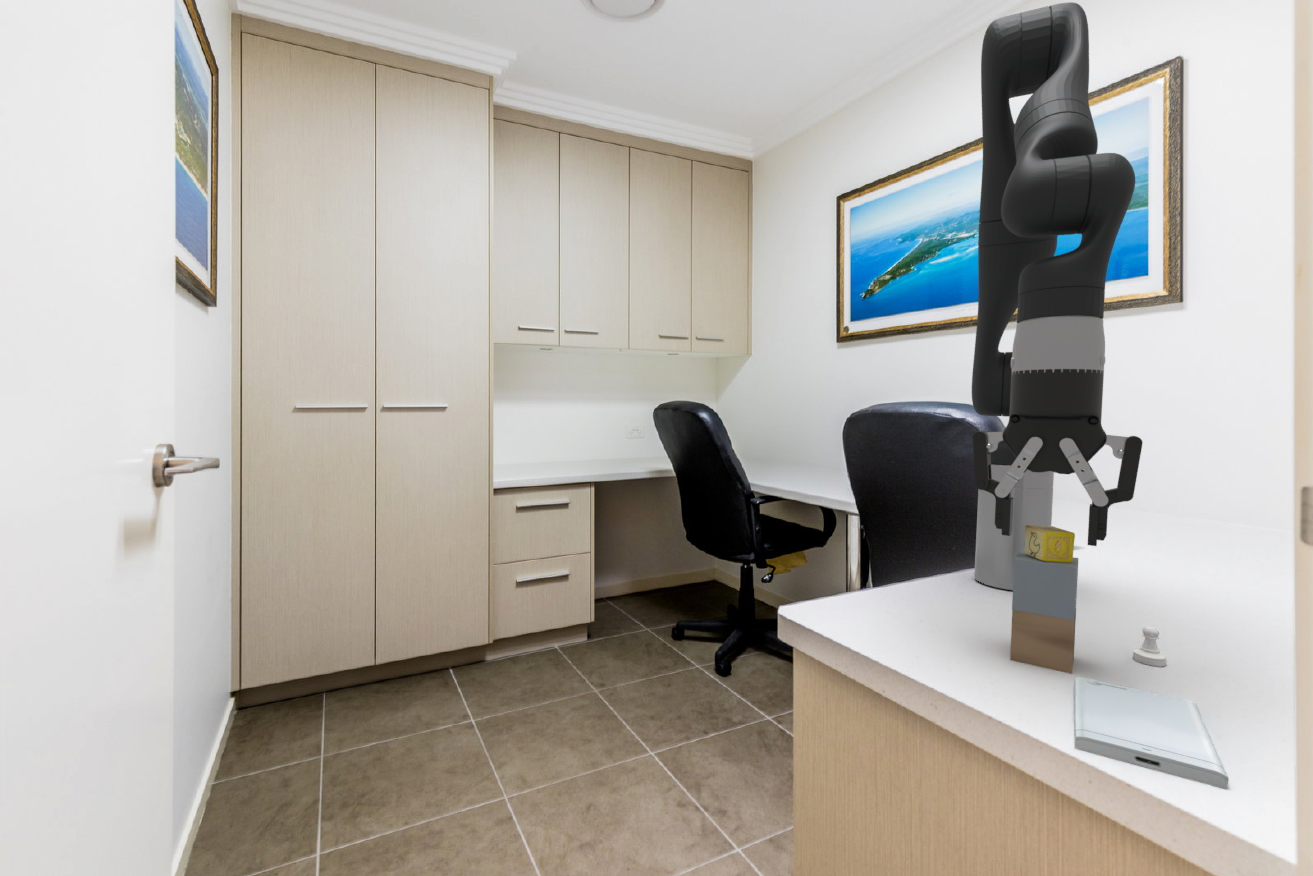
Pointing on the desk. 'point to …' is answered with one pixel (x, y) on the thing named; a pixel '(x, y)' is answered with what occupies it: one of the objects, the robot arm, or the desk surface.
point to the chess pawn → (1149, 649)
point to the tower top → (1045, 587)
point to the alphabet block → (1049, 543)
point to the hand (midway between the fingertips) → (1047, 538)
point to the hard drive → (1145, 731)
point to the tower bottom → (1043, 641)
